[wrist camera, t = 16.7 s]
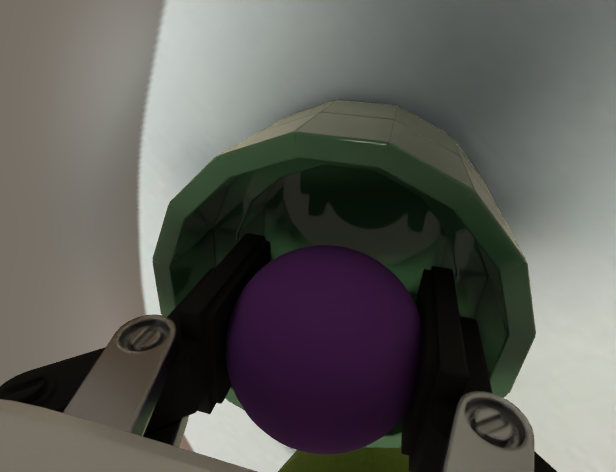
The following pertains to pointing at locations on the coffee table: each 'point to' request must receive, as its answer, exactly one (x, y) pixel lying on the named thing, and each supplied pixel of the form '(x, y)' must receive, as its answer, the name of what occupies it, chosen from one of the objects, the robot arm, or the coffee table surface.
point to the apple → (349, 461)
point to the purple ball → (324, 349)
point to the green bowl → (359, 217)
